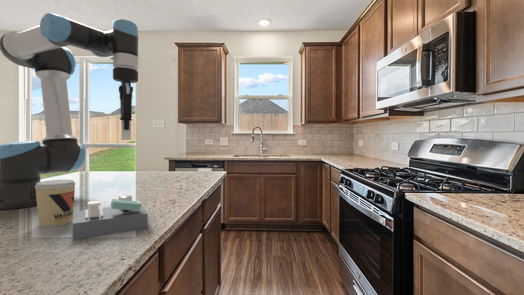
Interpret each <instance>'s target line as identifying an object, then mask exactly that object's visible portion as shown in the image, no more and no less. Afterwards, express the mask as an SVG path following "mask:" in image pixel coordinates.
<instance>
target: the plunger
mask: <svg viewBox="0 0 524 295" xmlns="http://www.w3.org/2000/svg"><path fill="white" fill-rule="evenodd" d="M118 200H128V201H133V195H120V196H119V197H118Z"/></svg>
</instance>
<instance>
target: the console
mask: <svg viewBox="0 0 524 295" xmlns="http://www.w3.org/2000/svg"><path fill="white" fill-rule="evenodd" d="M148 214H149V213H148V212H147V211H146V209H145V208H144V207H143V206H142V205H141V208H140V211H135V210H122V209H112V208H111V206H109V207H99V217H91V218H90V209H85V210H75V211H74V213H73V220H72V240H73V241H75V240H79V239H86V238H92V237H98V236H106V235H111V234H118V233H124V232H125V233H126V232H129V231H136V230H137V231H138V230H141V229H142V230H143V229H148V225H149V224H148V221H149V220H148V219H149V218H148Z"/></svg>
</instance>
